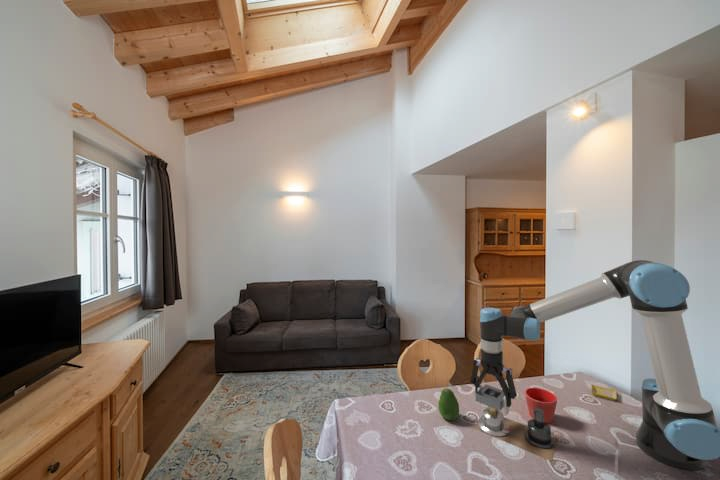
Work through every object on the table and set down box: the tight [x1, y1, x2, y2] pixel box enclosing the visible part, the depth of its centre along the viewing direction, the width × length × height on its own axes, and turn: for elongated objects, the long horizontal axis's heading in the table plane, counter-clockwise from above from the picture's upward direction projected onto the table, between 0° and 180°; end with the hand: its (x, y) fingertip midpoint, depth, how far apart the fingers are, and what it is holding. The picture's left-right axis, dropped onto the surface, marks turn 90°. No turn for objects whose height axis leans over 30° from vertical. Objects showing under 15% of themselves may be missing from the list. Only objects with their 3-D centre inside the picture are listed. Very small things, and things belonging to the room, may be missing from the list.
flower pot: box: [524, 387, 558, 424], centre depth 115 cm, size 11×11×10 cm
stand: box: [525, 408, 555, 449], centre depth 102 cm, size 9×9×10 cm
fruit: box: [438, 388, 460, 421], centre depth 116 cm, size 8×8×12 cm
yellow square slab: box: [590, 384, 618, 402], centre depth 129 cm, size 9×9×2 cm
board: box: [473, 415, 559, 462], centre depth 106 cm, size 25×14×1 cm, turn 48°
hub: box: [477, 395, 510, 438], centre depth 109 cm, size 11×11×12 cm
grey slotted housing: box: [475, 384, 505, 412], centre depth 109 cm, size 9×9×3 cm
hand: (492, 408), depth 109 cm, fingers closed on grey slotted housing, 9 cm apart
